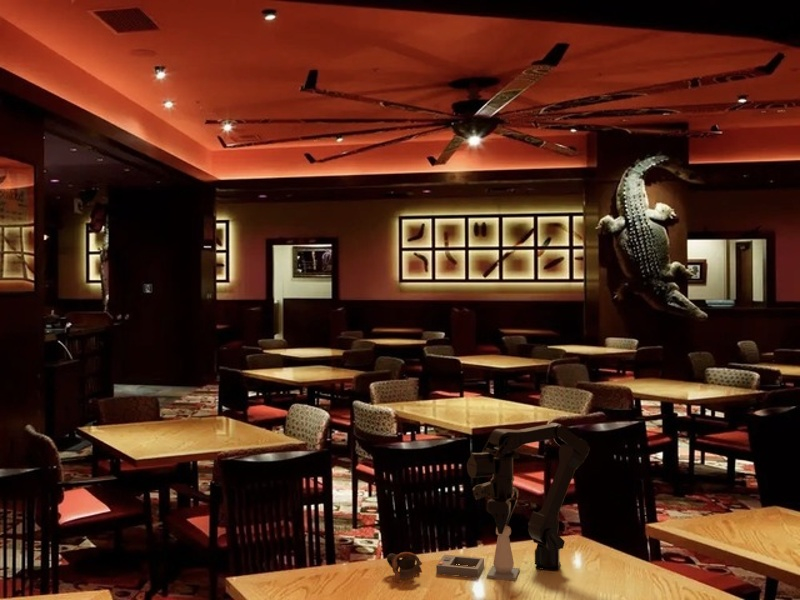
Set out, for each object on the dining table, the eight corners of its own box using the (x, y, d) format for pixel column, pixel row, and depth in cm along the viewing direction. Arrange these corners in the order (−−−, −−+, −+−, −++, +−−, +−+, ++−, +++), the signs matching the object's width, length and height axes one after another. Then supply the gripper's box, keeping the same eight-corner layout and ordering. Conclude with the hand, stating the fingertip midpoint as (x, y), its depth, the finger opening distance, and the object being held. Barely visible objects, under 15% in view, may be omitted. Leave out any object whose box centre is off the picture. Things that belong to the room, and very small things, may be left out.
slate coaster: (519, 571, 228) (519, 568, 228) (515, 580, 220) (515, 577, 220) (492, 568, 230) (492, 565, 230) (487, 577, 223) (487, 575, 223)
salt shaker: (513, 575, 222) (513, 529, 222) (492, 574, 223) (492, 528, 223) (514, 568, 228) (514, 523, 228) (494, 567, 229) (494, 522, 229)
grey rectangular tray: (484, 566, 232) (484, 557, 232) (477, 578, 223) (477, 568, 223) (444, 562, 235) (444, 553, 235) (436, 573, 226) (436, 564, 226)
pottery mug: (430, 576, 226) (428, 556, 221) (411, 600, 219) (409, 580, 215) (395, 558, 232) (394, 539, 228) (376, 581, 226) (374, 561, 221)
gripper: (481, 465, 236) (481, 517, 237) (468, 480, 219) (468, 536, 219) (518, 468, 233) (518, 520, 233) (508, 482, 215) (508, 539, 215)
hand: (503, 529), depth 225 cm, fingers open, 9 cm apart
